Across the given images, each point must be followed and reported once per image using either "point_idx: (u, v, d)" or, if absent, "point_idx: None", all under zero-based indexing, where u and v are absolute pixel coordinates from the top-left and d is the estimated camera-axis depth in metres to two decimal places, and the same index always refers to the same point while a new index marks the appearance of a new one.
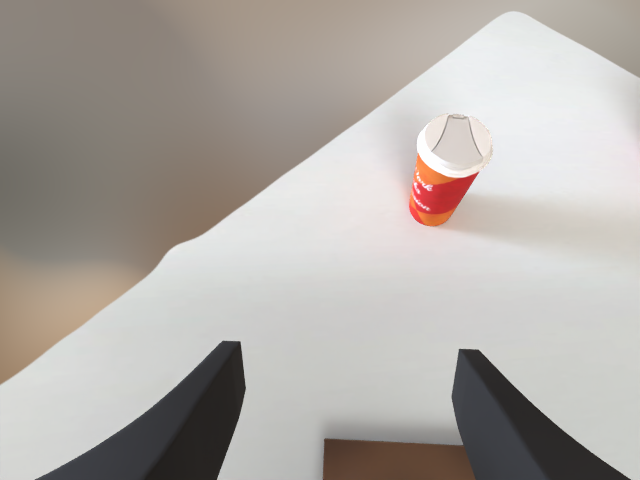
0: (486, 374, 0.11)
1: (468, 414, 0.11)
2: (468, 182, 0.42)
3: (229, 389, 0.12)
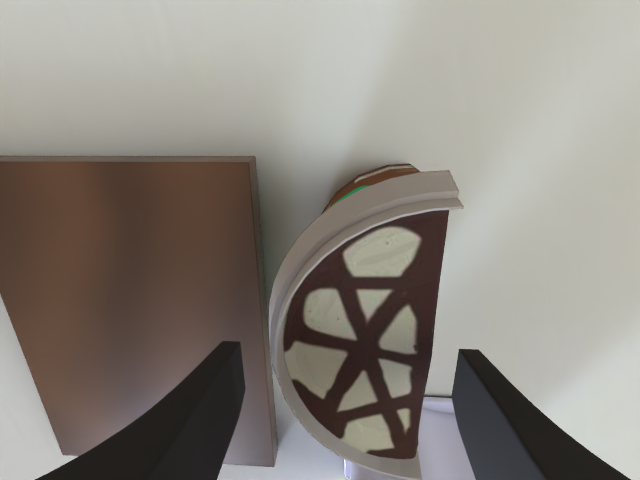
0: (486, 374, 0.11)
1: (467, 414, 0.11)
2: None
3: (229, 389, 0.12)
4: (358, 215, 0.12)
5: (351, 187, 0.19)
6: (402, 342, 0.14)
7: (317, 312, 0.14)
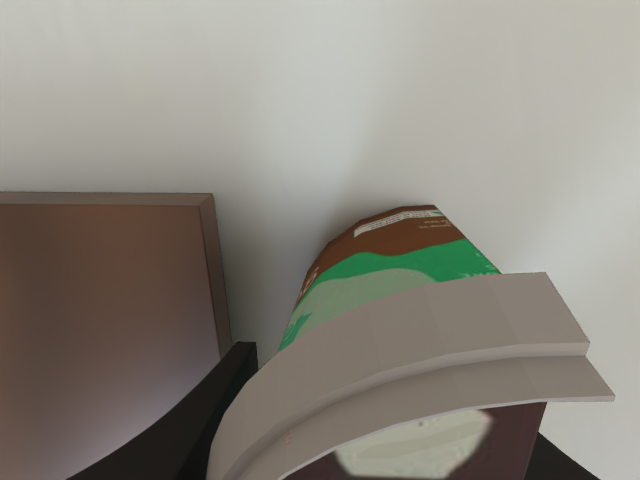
0: None
1: None
2: None
3: None
4: (361, 382, 0.06)
5: (349, 245, 0.13)
6: None
7: None
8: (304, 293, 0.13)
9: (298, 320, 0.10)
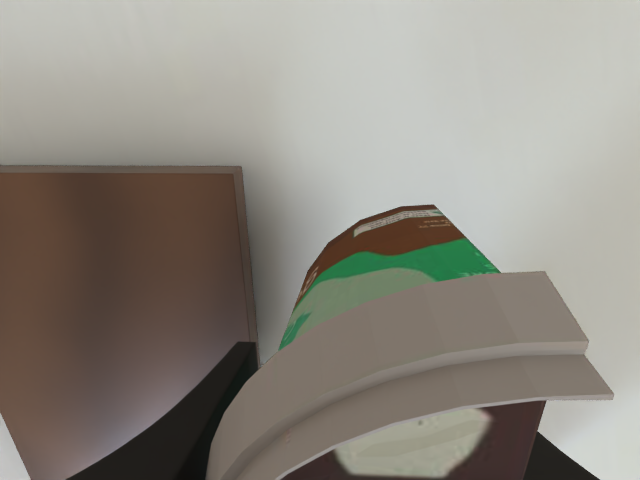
0: None
1: None
2: None
3: None
4: (361, 380, 0.06)
5: (349, 245, 0.13)
6: None
7: None
8: (304, 293, 0.13)
9: (298, 319, 0.11)
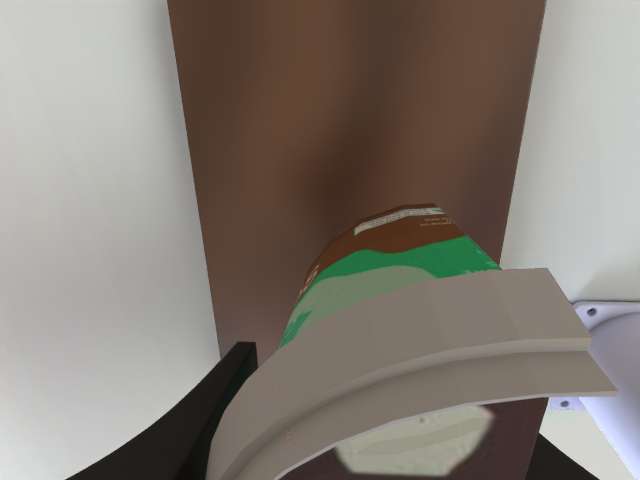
0: None
1: None
2: None
3: None
4: (362, 377, 0.05)
5: (349, 243, 0.13)
6: None
7: None
8: (304, 291, 0.13)
9: (298, 318, 0.10)
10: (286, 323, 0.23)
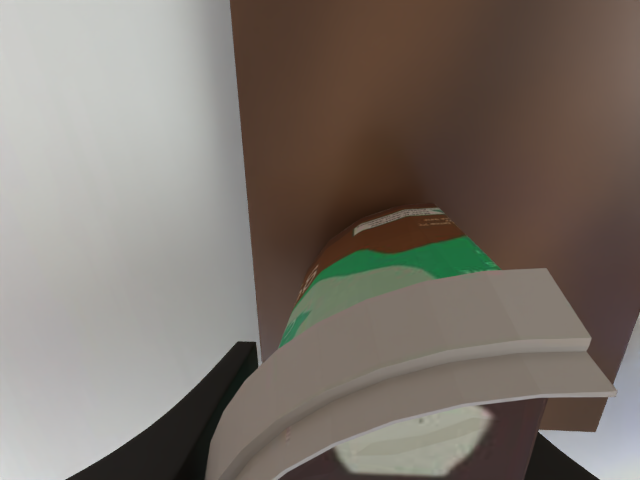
0: None
1: None
2: None
3: None
4: (361, 378, 0.05)
5: (349, 243, 0.13)
6: None
7: None
8: (304, 291, 0.13)
9: (298, 318, 0.10)
10: None
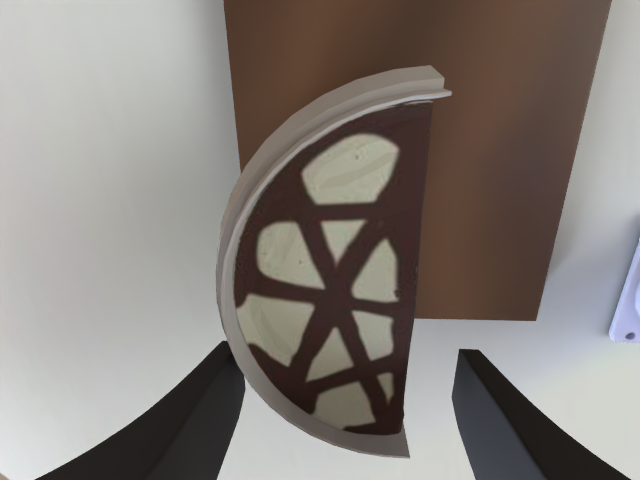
0: (486, 374, 0.11)
1: (468, 414, 0.11)
2: None
3: (229, 389, 0.12)
4: (318, 117, 0.09)
5: None
6: (380, 288, 0.11)
7: (274, 255, 0.11)
8: None
9: None
10: None
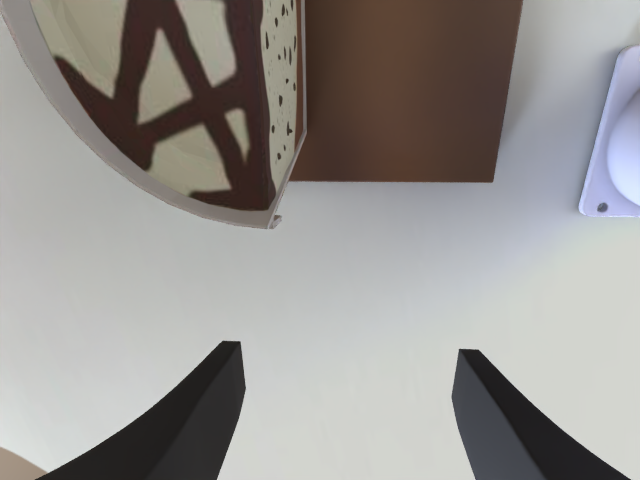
0: (486, 374, 0.11)
1: (468, 414, 0.11)
2: None
3: (229, 389, 0.12)
4: None
5: None
6: None
7: None
8: None
9: None
10: None
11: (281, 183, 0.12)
